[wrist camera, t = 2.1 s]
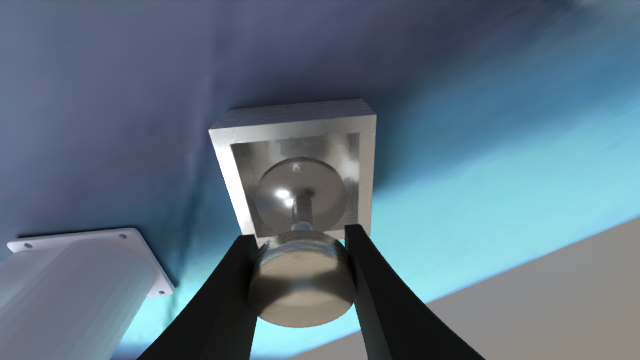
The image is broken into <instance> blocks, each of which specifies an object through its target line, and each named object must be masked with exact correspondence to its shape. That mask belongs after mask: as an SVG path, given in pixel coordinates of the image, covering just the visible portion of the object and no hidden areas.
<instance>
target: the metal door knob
mask: <svg viewBox="0 0 640 360" xmlns="http://www.w3.org/2000/svg"><path fill="white" fill-rule="evenodd" d="M255 203H256V208H257V211H258V213H259V215H260V217H261V218H262V220H263V221H264V222H265V223H266V224H267V225H268V226H269V227H271V228H272V229H274V230H275V231H277V232H280V233H282V234H279V235H277V236H274V237H272V238H271V239H269V240H268V241H266V242H265V243H264V244H263V245H262V246H261V247H260V249H259V250H258V252H257V254H256V256H255V261H254V266H253V271H252V276H251V280H250V285H249V290H248V295H247V298H248V304H249V306H250V308H251V309H252V311H253V312H254V313H255V314H256V315H257V316H259V317H260V318H261V319H263V320H265V321H267V322H269V323H272V324H275V325H279V326H284V327H292V328H304V327H313V326H318V325H322V324H325V323H328V322H331V321H333V320H335V319H337V318H339V317H340V316H342V315H343V314H344V313H346V312H347V311H348V310H349V309H350V307H351V306H352V304H353V303H354V300H355V296H356V290H355V285H354V280H353V275H352V271H351V266H350V261H349V257H348V253H347V251H346V249H345V247H344V246H343V245H342V244H341V243H340V242H339V241H338V240H337V239H335V238H334V237H332V236H330V235H328V234H325V233H323V232H325V231H327V230H329V229H330V228H332V227H333V226H334V225H336V224H337V223H338V222H339V221H340V219H341V218H342V217H343V215H344V213H345V211H346V208H347V204H348V195H347V191H346V187H345V184H344V181H343V179H342V177H341V176H340V174H339V173H338V172H337V171H336V170H335V169H334V168H333V167H332V166H331V165H329V164H327V163H326V162H323V161H321V160H318V159H315V158H310V157H294V158H289V159H285V160H283V161H280V162H278V163H276V164H275V165H273V166H272V167H270V168H269V169H268V170H267V171H266V172H265V173H264V175H263V176H262V178H261V180H260V182H259V185H258V188H257V191H256V197H255Z"/></svg>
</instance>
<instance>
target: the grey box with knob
mask: <svg viewBox="0 0 640 360" xmlns="http://www.w3.org/2000/svg"><path fill="white" fill-rule="evenodd" d="M376 117H377V114H376V113H375V112H374V111H373V110H372V109H371V108H370V107H369V106H368V105H367V103H366V102H365V101H364V100H363V99H362V98H351V99H340V100H328V101H317V102H306V103H294V104H283V105H272V106H260V107H249V108H238V109H228V110H227V111H226V112H225V113H224V114H223V115H222V116H221V117H220V118H219V119H218V120H217V121H216V122H215V123H214V124H213V125H212V126H211V127H210V128H209V129H208V131H209V134H210V137H211V140H212V143H213V146H214V149H215V152H216V155H217V158H218V161H219V164H220V167H221V170H222V173H223V176H224V179H225V182H226V185H227V188H228V191H229V194H230V197H231V200H232V204H233V207H234V210H235V213H236V216H237V219H238V222H239V225H240V228H241V231H242V234H243V235H249V234H254V235H255V238H256V241H257V245H258V247H261V246H262V245H263V244H264V243H265V242H266V241H268V240H269V239H271V238H272V237H274V236H277V235H279V234H282V233H280V232H277V231H275V230H274V229H272V228H271V227H269V226H268V225H267V224H266V223H265V222H264V221H263V220H262V218H261V217H260V215H259V213H258V211H257V208H256V203H255V197H256V191H257V188H258V185H259V182H260V180H261V178H262V176H263V175H264V173H265V172H266V171H267V170H268V169H269V168H270V167H272V166H273V165H275V164H276V163H278V162H280V161H283V160H285V159H289V158H294V157H310V158H315V159H318V160H321V161H323V162H326V163H327V164H329V165H331V166H332V167H333V168H334V169H335V170H336V171H337V172H338V173H339V174H340V176H341V177H342V179H343V181H344V184H345V187H346V191H347V195H348V204H347V208H346V211H345V213H344V215H343V217H342V218H341V219H340V221H339V222H338V223H337V224H336V225H334V226H333V227H332V228H330V229H329V230H327V231H325V232H323V233H325V234H328V235H330V236H332V237H334V238H335V239H345V231H344V225H351V224H360V225H362V227H363V229H364V230H365V232H366V233H367V235H368V236H370V228H371V209H372V191H373V172H374V154H375V136H376Z"/></svg>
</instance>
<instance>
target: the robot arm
mask: <svg viewBox="0 0 640 360" xmlns="http://www.w3.org/2000/svg"><path fill="white" fill-rule="evenodd" d="M344 231H345V249H346V251H347V253H348V257H349V261H350V266H351V271H352V275H353V280H354V285H355V290H356V296H355V300H354V304H355V308H356V312H357V316H358V320H359V323H360V327H361V331H362V335H363V338H364V342H365V347H366V351H367V355H368V360H485V359H484V358H483V357H482V356H481V355H480V354H478V353H477V352H476V351H475V350H474V349H473V348H471V347H470V346H469V345H468V344H467V343H466V342H465V341H463V340H462V339H461V338H460V337H459V336H458V335H457V334H456V333H454V332H453V331H452V330H451V329H449V327H448V326H447V325H446V324H444V323H443V322H442V321H441V320H440V319H439V318H438V317H437V316H436V315H435V314H434V313H433V312H432V311H431V310H430V309H429V308H428V307H427V306H426V305H425V304H424V303H423V302H422V301H421V300H420V299H419V298H418V297H417V296H416V295H415V294H414V293H413V292H412V290H411V289H410V288H409V287H408V286H407V285H406V284H405V283H404V282H403V280H402V279H401V278H400V277H399V276H398V275H397V273H396V272H395V271H394V270H393V269H392V267H391V266H390V265H389V264H388V262H387V261H386V260H385V259H384V257H383V256H382V255H381V253H380V252H379V251H378V249H377V248H376V247H375V245H374V244H373V242H372V241H371V239H370V238H369V236H368V235H367V233H366V232H365V230H364V229H363V227H362V225H360V224H351V225H344ZM7 246H8V248H9V249H11V250H12V251H13V252H14V254H13V255H11V256H10V257H9V258H7V259H6V260H5V261H3V262H2V263H1V264H0V360H109V359H110V358H111V356H112V354H113V352H114V351H115V349H116V347H117V346H118V344H119V342H120V341H121V339H122V337H123V335H124V334H125V332H126V330H127V329H128V327H129V325H130V324H131V322H132V320H133V318H134V317H135V315H136V313H137V312H138V310H139V308H140V307H141V305H142V303H143V301H144V300H145V298H146V297H154V296H164V295H171V294H173V293H174V291H175V288H174V286H173V284H172V283H171V281H170V280H169V278H168V277H167V275H166V273H165V272H164V270H163V269H162V267H161V266H160V264H159V262H158V261H157V259H156V258H155V256H154V255H153V253H152V251H151V250H150V248H149V247H148V245H147V244H146V242H145V240H144V239H143V237H142V236H141V234H140V233H139V231H138V230H137V229H135V228H122V229H112V230H101V231H91V232H80V233H70V234H60V235H49V236H39V237H29V238H18V239H12V240H11V241H9V242H8V243H7ZM258 250H259V248H258V245H257V241H256V238H255V235H254V234H249V235H239V236H238V237H237V239H236V240H235V242H234V243H233V244H232V246H231V247H230V249H229V250H228V252H227V253H226V254H225V256H224V257H223V259H222V260H221V262H220V263H219V264H218V266H217V267H216V268H215V270H214V271H213V272H212V274H211V275H210V276H209V278H208V279H207V280H206V282H205V283H204V284H203V286H202V287H201V288H200V289H199V291H198V292H197V293H196V294H195V296H194V297H193V298H192V299H191V300H190V302H189V303H188V304H187V305H186V307H185V308H184V309H183V310H182V311H181V312H180V314H179V315H178V316H177V317H176V318H175V319H174V320H173V322H172V323H171V324H170V325H169V326H168V327H167V328H166V329H165V330H164V331H163V333H162V334H161V335H160V336H159V337H158V338H157V339H156V340H155V341H154V342H153V343H152V344H151V345H150V346H149V347H148V348H147V349H146V350H145V351H144V352H143V353H142V354H141V355H140V356H139V357H138V358H137V359H136V360H249V358H250V352H251V347H252V342H253V337H254V332H255V327H256V322H257V317H258V316H257V315H256V314H255V313H254V312H253V311H252V309H251V308H250V306H249V304H248V298H247V295H248V290H249V285H250V280H251V276H252V271H253V266H254V261H255V256H256V254H257V252H258Z"/></svg>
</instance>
